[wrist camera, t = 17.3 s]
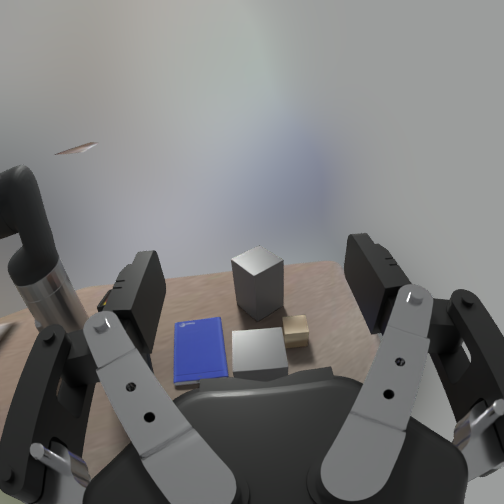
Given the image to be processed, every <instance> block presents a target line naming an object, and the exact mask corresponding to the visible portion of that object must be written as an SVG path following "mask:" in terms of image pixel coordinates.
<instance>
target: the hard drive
mask: <svg viewBox="0 0 504 504" xmlns="http://www.w3.org/2000/svg"><path fill="white" fill-rule="evenodd" d="M205 378H229V375H228V367H227V360H226V353H225V345H224V338H223V330H222V322H221V317H214V318H207V319H200V320H193V321H185V322H177V323H175V334H174V384H175V385H186V384H196V383H200V379H205Z"/></svg>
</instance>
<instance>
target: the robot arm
mask: <svg viewBox="0 0 504 504" xmlns="http://www.w3.org/2000/svg"><path fill="white" fill-rule="evenodd" d="M16 233H19V235H20V238H21V241H22V244H23V246H22V247H21V248H20V249H19V250H18V251H17V252H16V253H15V254H14V255H13V256H12V258H11V259H10V261H9V263H8V272H9V275H10V277H11V279H12V280H13V282H14V284H15V286H16V288H17V290H18V292H19V293H20V295H21V297H22V298H23V300H24V302H25V303H26V305H27V307H28V309H29V310H30V312H31V314H32V315H33V317H34V318H35V326H36V328H37V330H38V331H39V334H38V336H37V338H36V340H35V343H34V345H33V347H32V349H31V352H30V354H29V356H28V359H27V361H26V364H25V366H24V369H23V371H22V374H21V377H20V379H19V382H18V385H17V388H16V390H15V393H14V396H13V399H12V402H11V405H10V409H9V412H8V415H7V418H6V422H5V425H4V429H3V433H2V437H1V441H0V489H1V490H2V491H3V492H4V493H6V494H8V495H10V496H12V497H14V498H16V499H18V500H21V501H22V502H23V503H25V504H464V498H465V492H466V488H467V483H468V482H469V481H471V480H473V479H475V478H476V477H485V476H487V475H489V474H491V473H493V472H495V471H496V470H498V469H500V468H501V467H503V466H504V337H503V335H502V333H501V332H500V330H499V328H498V327H497V325H496V324H495V322H494V320H493V319H492V317H491V316H490V314H489V313H488V311H487V310H486V308H485V307H484V305H483V304H482V303H481V301H480V300H479V298H478V297H477V296H476V295H475V294H473V293H472V292H470V291H467V290H464V289H458V290H456V291H454V292H453V293H452V295H451V298H450V300H444V299H434V298H433V297H432V295H431V293H429V291H428V290H426V289H425V288H423V287H421V286H418V285H413V284H411V282H410V281H409V279H408V278H407V276H406V275H405V273H404V272H403V271H402V269H401V268H400V266H399V265H397V262H396V261H395V259H393V257H392V255H391V254H390V253H389V251H388V250H387V249H385V248H384V247H382V246H381V245H380V244H374V242H373V241H372V240H371V238H370V237H369V235H368V234H367V233H363V234H362V233H361V234H350V235H349V236H348V240H347V248H346V255H345V263H344V273H345V278H346V280H347V282H348V284H349V286H350V289H351V291H352V293H353V295H354V297H355V299H356V301H357V304H358V306H359V308H360V310H361V312H362V315H363V317H364V319H365V321H366V324H367V326H368V328H369V330H370V333H371V335H372V334H377V333H382V336H383V338H382V340H381V343H380V346H379V348H378V351H377V353H376V356H375V358H374V360H373V363H372V365H371V368H370V370H369V372H368V375H367V377H366V379H365V381H364V384H362V383H361V382H359V381H356V380H354V379H351V378H347V377H342V376H334V375H333V372H332V368H331V367H325V368H318V369H311V370H304V371H299V372H296V373H293V374H290V375H287V376H284V377H281V378H278V379H275V380H272V381H269V382H261V381H254V380H246V379H240V378H233V377H229V378H205V379H200V387H199V388H197V389H194V390H191V391H188V392H186V393H184V394H182V395H180V396H179V397H177V398H175V399H174V400H173V401H172V400H171V398H170V397H169V396H168V394H167V393H166V392H165V390H164V389H163V387H162V386H161V384H160V383H159V382H158V380H157V379H156V377H155V376H154V374H153V373H152V371H151V370H150V368H149V367H148V365H147V364H146V362H145V361H144V359H143V358H142V356H141V355H142V353H146V354H152V349H153V345H154V340H155V336H156V331H157V327H158V323H159V319H160V314H161V310H162V306H163V302H164V298H165V294H166V283H165V279H164V275H163V272H162V269H161V265H160V261H159V258H158V255H157V252H156V251H154V250H153V251H143V252H138V253H137V254H136V257H135V259H134V261H133V263H132V264H128V265H127V266H126V267H125V268H124V269H123V270H122V271H121V272H120V273H119V275H118V277H117V280H116V282H115V284H114V286H113V289H112V290H111V292H110V295H109V297H108V299H107V301H106V304H105V306H104V308H103V310H102V311H101V312H98V313H96V314H94V315H92V316H91V317H90V318H89V317H88V315H87V313H86V311H85V309H84V307H83V305H82V304H81V302H80V300H79V298H78V296H77V294H76V292H75V290H74V288H73V286H72V284H71V282H70V280H69V277H68V275H67V273H66V271H65V269H64V266H63V264H62V262H61V260H60V257H59V255H58V253H57V250H56V247H55V243H54V239H53V235H52V231H51V228H50V226H49V222H48V219H47V216H46V213H45V209H44V205H43V202H42V198H41V194H40V190H39V187H38V184H37V181H36V179H35V176H34V175H33V173H32V171H31V170H30V169H29V168H28V167H27V166H25V165H19V166H16V167H13V168H11V169H9V170H6V171H4V172H2V173H0V239H2V238H5V237H8V236H11V235H13V234H16ZM463 341H464V342H465V344H466V346H467V348H468V350H469V352H470V354H471V363H470V361H469V359H468V357H467V355H466V353H465V351H464V349H463V348H462V343H463ZM427 353H429V354H430V356H431V358H432V361H433V363H434V365H435V368H436V370H437V372H438V375H439V377H440V380H441V382H442V384H443V387H444V389H445V392H446V394H447V397H448V400H449V403H450V405H451V408H452V410H453V413H454V416H455V419H456V422H457V424H456V426H455V429H454V439H453V441H452V443H451V442H450V441H448V440H446V439H445V438H443V437H442V436H440V435H439V434H437V433H436V432H434V431H432V430H431V429H429V428H428V427H426V426H425V425H423V424H422V423H420V422H419V421H417V420H416V419H414V418H413V417H411V416H410V414H411V412H412V408H413V405H414V402H415V399H416V396H417V392H418V389H419V385H420V382H421V377H422V374H423V370H424V366H425V362H426V357H427ZM60 377H61V378H62V382H61V386H60V389H59V393H58V396H56V390H57V386H58V383H59V379H60ZM97 382H101V384H102V386H103V388H104V390H105V392H106V394H107V397H108V399H109V401H110V403H111V405H112V407H113V409H114V411H115V412H116V414H117V416H118V418H119V420H120V422H121V424H122V426H123V427H124V429H125V431H126V433H127V434H128V436H129V438H130V440H131V442H130V443H129V444H128V445H127V446H126V447H125V448H124V449H123V450H122V451H121V452H120V453H119V454H118V455H117V456H116V457H115V458H114V459H113V460H112V461H111V462H110V463H109V464H108V465H107V466H106V467H105V468H104V469H102V470H101V471H100V472H99V473H98V474H97V475H96V476H95V477H94V478H93V479H92V480H91V477H90V475H89V474H88V467H87V465H86V463H85V461H84V460H83V459H82V453H83V446H84V440H85V434H86V428H87V422H88V417H89V412H90V407H91V402H92V397H93V393H94V388H95V384H96V383H97Z"/></svg>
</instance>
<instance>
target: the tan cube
mask: <svg viewBox="0 0 504 504" xmlns="http://www.w3.org/2000/svg"><path fill="white" fill-rule="evenodd" d="M282 332H283V338H284V344H285V348H295V347H305V346H307V344H308V336H309V330H308V325H307V321H306V317H305V315H299V316H288V317H282Z"/></svg>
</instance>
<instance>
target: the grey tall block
mask: <svg viewBox="0 0 504 504" xmlns="http://www.w3.org/2000/svg"><path fill="white" fill-rule="evenodd" d="M231 263H232V271H233V278H234V286H235V293H236V301H237V304H238V305H239V306H240V307H241V308H242V309H243V310H244V311H246V312H247V313H248V314H249V315H250V316H251V317H253V318H254V319H255V320H256V321H257V322H258V321H260V320H261V319H263V318H264V317H266V316H268V315H269V314H271V313H272V312H274V311H275V310H277V309H279V308H280V307H282V306H283V298H284V264H283V259H281V258H280V257H278V256H276V255H275V254H273V253H271V252H270V251H268V250H266V249H265V248H263V247H261V246H260V245H259V246H257V247H255V248H253V249H251V250H249V251H247V252H245V253H243V254H241V255H239V256H236V257H234V258H232V259H231Z"/></svg>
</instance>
